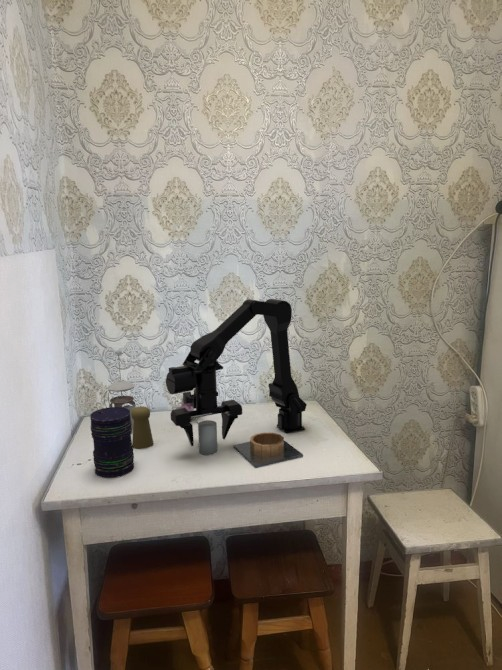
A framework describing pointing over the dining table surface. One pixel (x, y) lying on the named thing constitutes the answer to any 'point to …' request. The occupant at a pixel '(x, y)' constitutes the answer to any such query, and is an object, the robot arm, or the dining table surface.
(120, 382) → the french press
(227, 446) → the dining table surface
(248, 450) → the duct collar
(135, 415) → the cork
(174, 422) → the robot arm
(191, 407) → the lily
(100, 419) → the storage jar
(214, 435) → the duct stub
